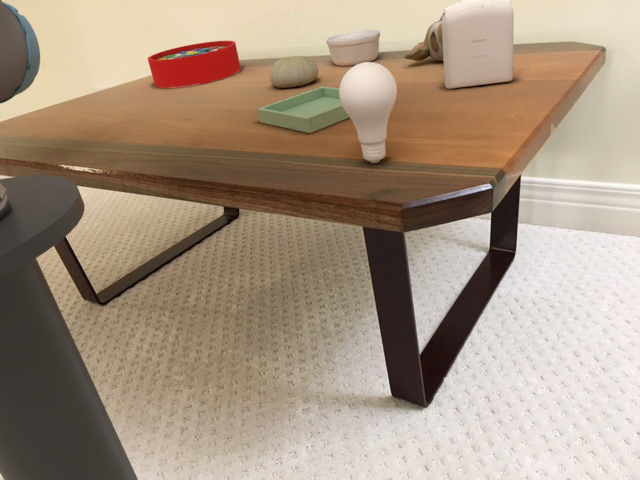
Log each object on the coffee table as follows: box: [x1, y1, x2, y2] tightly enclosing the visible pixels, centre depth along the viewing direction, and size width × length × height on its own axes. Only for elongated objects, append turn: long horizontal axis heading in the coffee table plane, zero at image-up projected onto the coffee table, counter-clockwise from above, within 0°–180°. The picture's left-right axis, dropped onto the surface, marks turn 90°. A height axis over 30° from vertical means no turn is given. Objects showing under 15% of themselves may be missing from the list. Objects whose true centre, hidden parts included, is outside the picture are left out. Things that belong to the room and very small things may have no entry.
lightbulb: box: [339, 61, 398, 164], centre depth 58 cm, size 6×6×11 cm
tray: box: [257, 86, 350, 134], centre depth 81 cm, size 13×12×2 cm
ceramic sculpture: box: [403, 12, 444, 62], centre depth 100 cm, size 11×9×15 cm
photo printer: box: [442, 0, 515, 90], centre depth 81 cm, size 10×4×12 cm, turn 82°
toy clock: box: [147, 40, 242, 89], centre depth 124 cm, size 20×6×20 cm
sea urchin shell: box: [269, 55, 320, 89], centre depth 102 cm, size 9×8×8 cm
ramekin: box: [325, 29, 381, 67], centre depth 113 cm, size 11×11×5 cm
